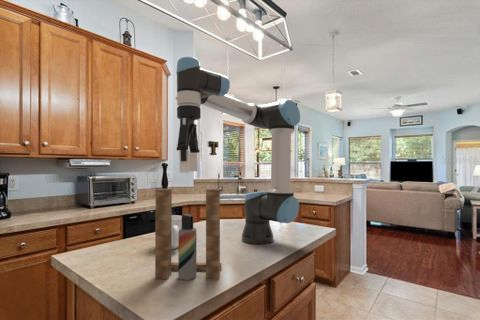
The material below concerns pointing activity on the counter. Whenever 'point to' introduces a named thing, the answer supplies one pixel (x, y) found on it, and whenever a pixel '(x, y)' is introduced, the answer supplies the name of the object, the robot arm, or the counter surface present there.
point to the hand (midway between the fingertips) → (189, 172)
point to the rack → (165, 235)
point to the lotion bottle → (187, 249)
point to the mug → (176, 229)
